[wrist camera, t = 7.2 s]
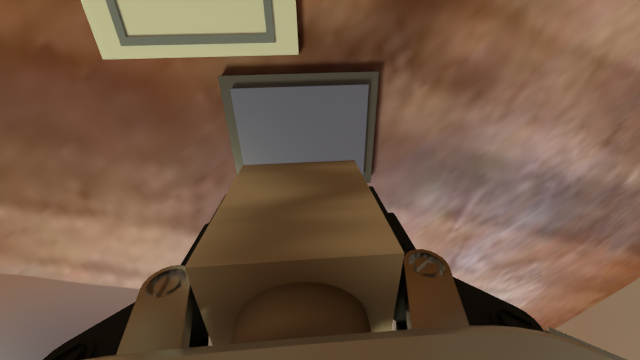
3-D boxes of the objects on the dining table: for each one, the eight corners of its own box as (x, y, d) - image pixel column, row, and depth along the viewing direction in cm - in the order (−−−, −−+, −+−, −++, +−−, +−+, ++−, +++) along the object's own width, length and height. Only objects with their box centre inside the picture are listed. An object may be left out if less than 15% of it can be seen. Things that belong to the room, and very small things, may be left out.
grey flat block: (376, 71, 22) (381, 71, 21) (368, 178, 27) (371, 185, 26) (221, 75, 22) (215, 76, 20) (241, 184, 26) (238, 191, 25)
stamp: (354, 160, 11) (452, 342, 4) (350, 245, 13) (408, 463, 6) (243, 165, 11) (124, 370, 4) (258, 251, 13) (204, 485, 6)
